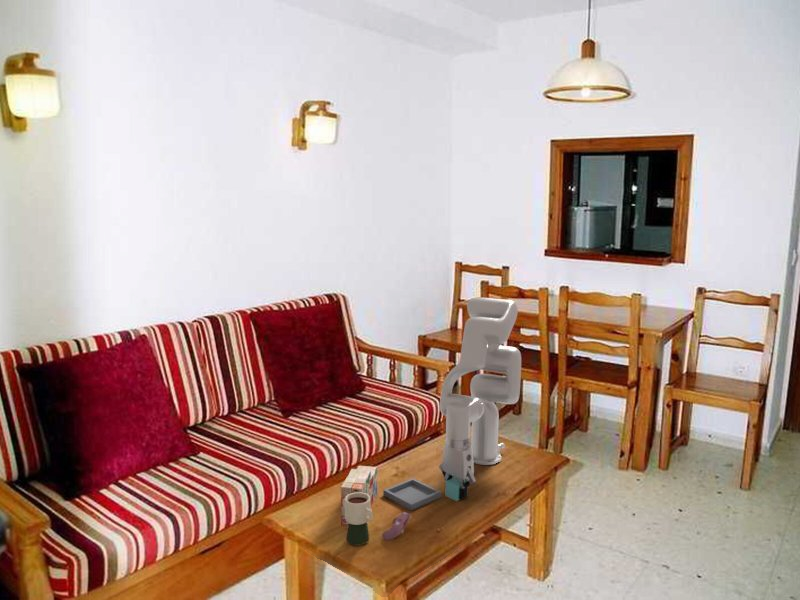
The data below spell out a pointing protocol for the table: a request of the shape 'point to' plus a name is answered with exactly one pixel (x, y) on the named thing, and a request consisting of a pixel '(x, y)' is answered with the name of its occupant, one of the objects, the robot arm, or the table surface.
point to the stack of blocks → (359, 485)
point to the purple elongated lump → (397, 526)
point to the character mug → (357, 517)
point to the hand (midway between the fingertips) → (456, 494)
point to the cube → (453, 488)
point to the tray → (412, 494)
